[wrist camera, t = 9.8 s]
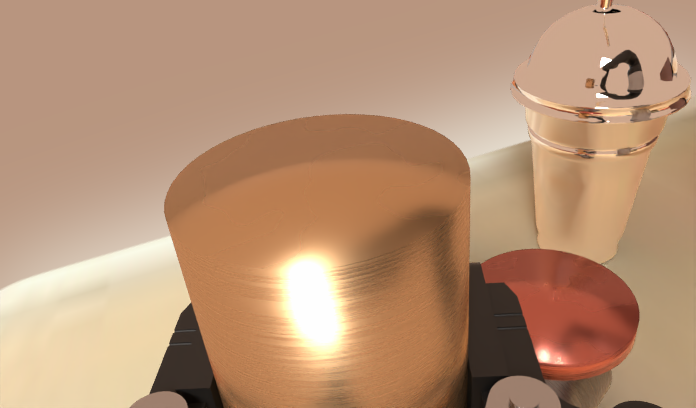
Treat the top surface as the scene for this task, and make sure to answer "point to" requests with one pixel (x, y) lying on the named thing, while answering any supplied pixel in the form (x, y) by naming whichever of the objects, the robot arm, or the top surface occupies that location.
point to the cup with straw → (595, 121)
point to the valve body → (570, 318)
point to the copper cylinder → (329, 263)
